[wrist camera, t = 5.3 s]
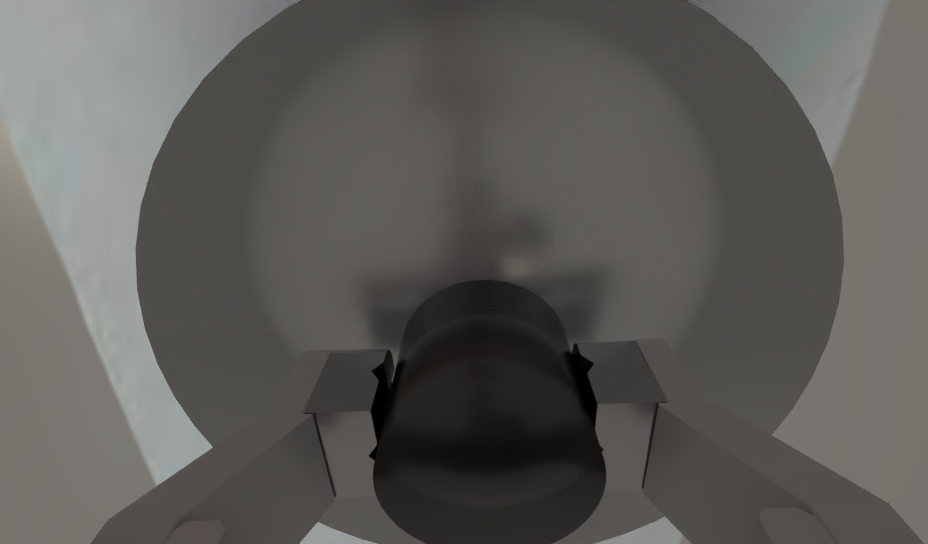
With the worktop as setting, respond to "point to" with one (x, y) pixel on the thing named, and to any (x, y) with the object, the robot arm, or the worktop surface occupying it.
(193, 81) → the worktop surface
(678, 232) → the lid
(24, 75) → the worktop surface
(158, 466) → the worktop surface
